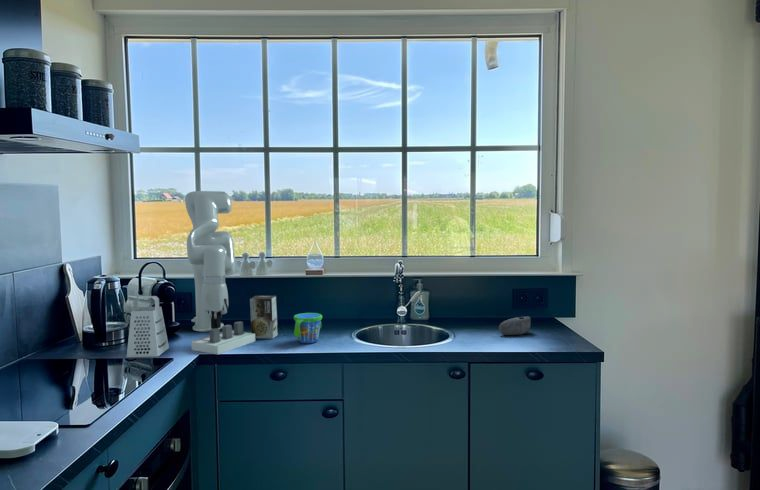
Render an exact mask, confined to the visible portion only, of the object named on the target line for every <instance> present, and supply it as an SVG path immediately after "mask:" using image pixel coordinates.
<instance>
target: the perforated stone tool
mask: <svg viewBox="0 0 760 490" xmlns="http://www.w3.org/2000/svg"><path fill="white" fill-rule="evenodd" d="M531 320H532V319H531V316H529V315H528V316H519V317H517V316H516V317H512V318H508V319H507V320H506V319H505V320H503V321H502V322H501V323H500V324H499V326H498V332H499V333H500V334H501V335H504V336H521V335H524V334H529V333H530V330H531Z"/></svg>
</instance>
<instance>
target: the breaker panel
mask: <svg viewBox="0 0 760 490" xmlns="http://www.w3.org/2000/svg"><path fill="white" fill-rule="evenodd" d="M243 332H244V334H241V335H234V334H233V333H234V329H232V336H233V337H232V338H229V339H224V338H221V337H222V332H220V340H221V341H219V342H216V343H211V342H208V341H210V335H209V336H206V337H203V338H199V339H196V340H192V341H191V351H196V352H201V353H206V354H213V355H221V354H224V353H226V352H229V351H231V350H235V349H237V348H238V349H239V348H241V347H243V346H246V345H249V344H252V343H254V342H256V338H255V334H254V333H251V332H247V331H243Z"/></svg>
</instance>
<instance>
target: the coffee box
mask: <svg viewBox="0 0 760 490" xmlns="http://www.w3.org/2000/svg"><path fill="white" fill-rule="evenodd" d="M277 301H278V299H277V295H254V296H253V297H250V298H249V307H250V333H254V334H255V339H274V338H275V337H277V336H278V309H277V308H278V305H277Z"/></svg>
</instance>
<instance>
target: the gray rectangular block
mask: <svg viewBox="0 0 760 490" xmlns="http://www.w3.org/2000/svg"><path fill="white" fill-rule="evenodd" d="M233 331H234V333H233V334H234V335H241V334H244V332H245V331H244V322H243V321H235V322H234V323H233Z"/></svg>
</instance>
